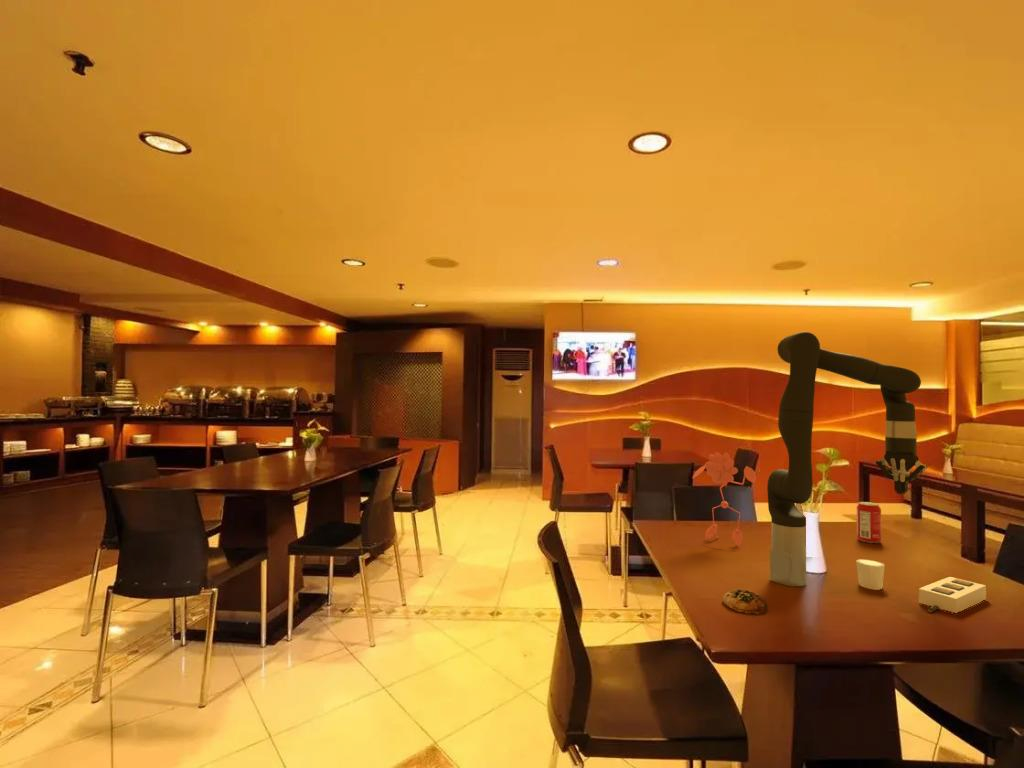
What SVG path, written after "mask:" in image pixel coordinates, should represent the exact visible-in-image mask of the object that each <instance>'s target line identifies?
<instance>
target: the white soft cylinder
mask: <svg viewBox="0 0 1024 768" xmlns="http://www.w3.org/2000/svg"><path fill="white" fill-rule="evenodd" d="M855 562H856V569H857V571H856V572H857V577H858V580H857V581H858V585H859V586H860V587H863V588H865V589H870V590H875V591H878V590H879V591H880V589H881V590H882V589H883V585H884V578H885V569H886V568H885V567H886V566H885V564H884V563H883V562H881V561H877V560H873V559H866V558H863V559H862V558H860V559H857V560H856V561H855Z"/></svg>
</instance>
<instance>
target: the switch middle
mask: <svg viewBox="0 0 1024 768" xmlns="http://www.w3.org/2000/svg"><path fill="white" fill-rule="evenodd" d="M942 587H946V588H950V589H954V590H958V591H960V590H963V589H964V587H962V586H958V585H954V584H950V583H945V584H943V585H942Z"/></svg>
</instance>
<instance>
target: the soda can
mask: <svg viewBox="0 0 1024 768" xmlns="http://www.w3.org/2000/svg"><path fill="white" fill-rule="evenodd" d="M879 505H880V504H879V503H875V502H871V501H870V502H869V501H860V502H858V505H856V539H858V540H859V541H860V542H862V541H863V542H862V543H865V542H867V544H872V543H876V544H879V543H881V542H882V509H881V507H880V506H879Z"/></svg>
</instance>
